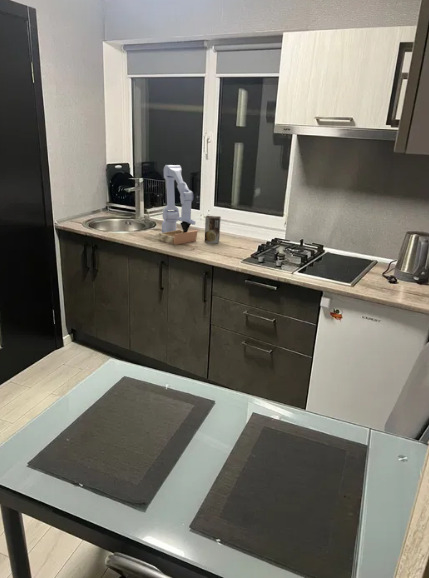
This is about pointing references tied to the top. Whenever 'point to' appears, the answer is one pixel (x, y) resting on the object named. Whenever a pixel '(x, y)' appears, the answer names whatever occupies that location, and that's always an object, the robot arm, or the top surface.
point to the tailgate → (185, 237)
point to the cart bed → (169, 236)
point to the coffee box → (212, 229)
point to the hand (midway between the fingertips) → (185, 234)
